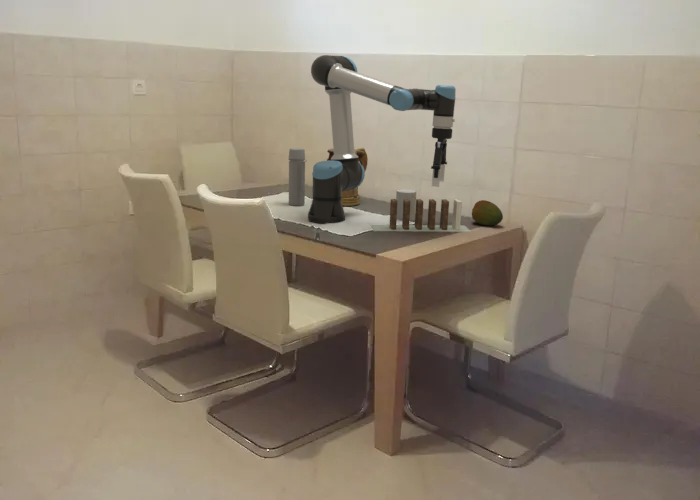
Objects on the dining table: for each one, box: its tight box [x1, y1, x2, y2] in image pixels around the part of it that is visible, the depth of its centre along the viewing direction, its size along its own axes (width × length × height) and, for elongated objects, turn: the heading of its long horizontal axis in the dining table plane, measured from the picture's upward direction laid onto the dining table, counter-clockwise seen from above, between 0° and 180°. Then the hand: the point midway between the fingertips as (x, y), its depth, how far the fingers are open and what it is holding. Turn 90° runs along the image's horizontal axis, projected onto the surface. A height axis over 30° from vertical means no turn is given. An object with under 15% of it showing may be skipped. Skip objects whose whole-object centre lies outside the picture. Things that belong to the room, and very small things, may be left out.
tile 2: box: [401, 199, 410, 230], centre depth 262 cm, size 2×5×11 cm, turn 6°
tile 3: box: [414, 198, 424, 230], centre depth 262 cm, size 2×5×11 cm, turn 6°
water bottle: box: [288, 147, 307, 207], centre depth 301 cm, size 9×8×25 cm
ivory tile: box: [451, 199, 463, 230], centre depth 264 cm, size 2×5×11 cm, turn 6°
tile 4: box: [426, 198, 437, 230], centre depth 263 cm, size 2×5×11 cm, turn 6°
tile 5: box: [439, 199, 450, 230], centre depth 263 cm, size 2×5×11 cm, turn 6°
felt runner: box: [369, 224, 472, 233], centre depth 264 cm, size 38×11×1 cm, turn 96°
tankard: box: [326, 147, 369, 207], centre depth 310 cm, size 18×24×25 cm
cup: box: [395, 188, 418, 222], centre depth 279 cm, size 8×8×12 cm
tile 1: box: [389, 198, 398, 230], centre depth 261 cm, size 2×5×11 cm, turn 6°
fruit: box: [471, 199, 504, 227], centre depth 273 cm, size 12×12×10 cm
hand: (437, 183), depth 260 cm, fingers open, 13 cm apart
